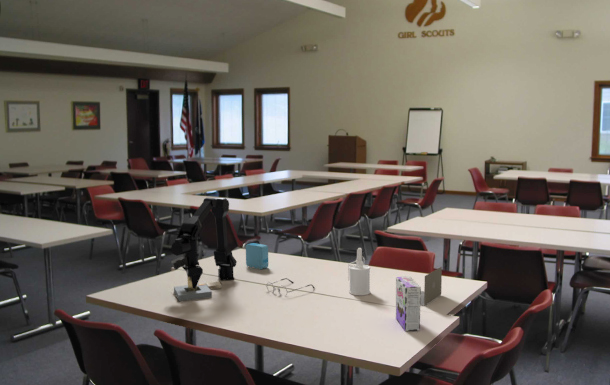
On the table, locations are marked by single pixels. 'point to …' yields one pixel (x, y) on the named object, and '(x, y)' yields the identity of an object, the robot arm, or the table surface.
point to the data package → (257, 255)
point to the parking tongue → (213, 285)
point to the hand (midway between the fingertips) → (192, 285)
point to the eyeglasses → (283, 286)
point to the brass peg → (190, 285)
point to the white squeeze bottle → (359, 276)
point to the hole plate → (192, 292)
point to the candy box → (408, 303)
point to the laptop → (431, 287)
